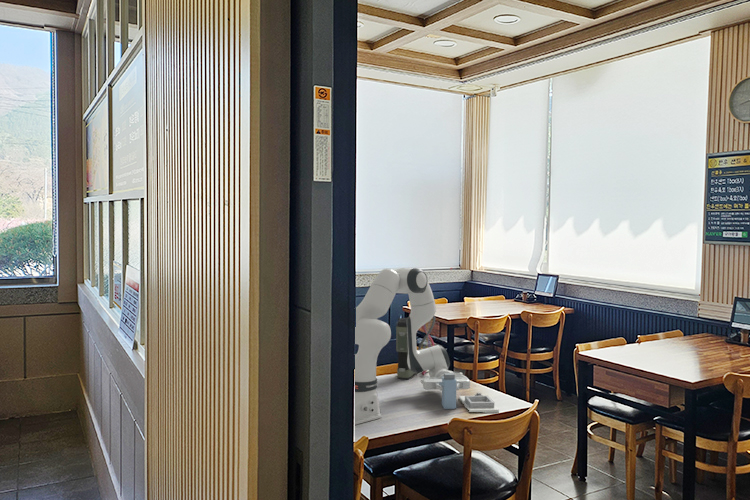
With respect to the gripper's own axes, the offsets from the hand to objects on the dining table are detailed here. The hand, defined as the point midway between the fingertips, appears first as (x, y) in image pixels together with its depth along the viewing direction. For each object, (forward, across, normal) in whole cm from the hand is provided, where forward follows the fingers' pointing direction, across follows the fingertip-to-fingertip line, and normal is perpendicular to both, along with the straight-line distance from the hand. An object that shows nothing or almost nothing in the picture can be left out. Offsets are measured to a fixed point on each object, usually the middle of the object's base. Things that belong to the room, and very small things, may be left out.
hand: (449, 388), depth 239 cm
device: (-52, -11, +8) cm, 54 cm away
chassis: (-2, +13, +8) cm, 15 cm away
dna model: (-58, 0, +8) cm, 58 cm away
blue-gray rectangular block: (-1, 0, +8) cm, 8 cm away
